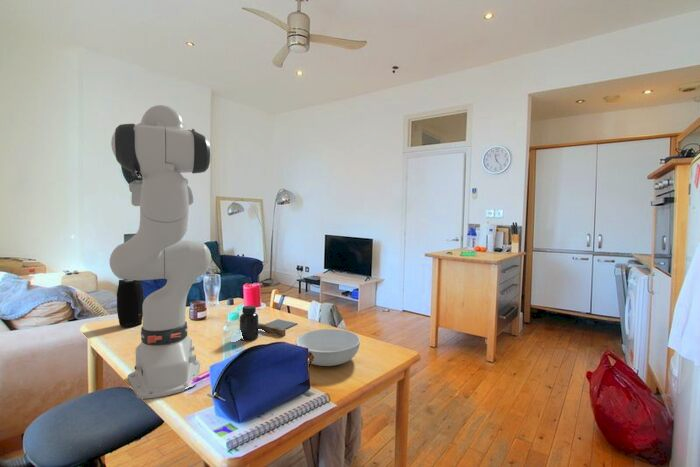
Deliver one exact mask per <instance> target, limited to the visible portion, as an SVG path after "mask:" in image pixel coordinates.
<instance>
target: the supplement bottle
mask: <svg viewBox="0 0 700 467" xmlns="http://www.w3.org/2000/svg"><path fill="white" fill-rule="evenodd" d="M256 308H257V307H256V306H255V305H244V306H242V312H241V313H242V314H240V315H239V331H240V330H241V332H242V336H243V339H244V340H243V341H245V342H248V341H249V342H250V341H254V340H257V339H258V338H259V331H258V323H259V314H257V312H256V310H257V309H256Z"/></svg>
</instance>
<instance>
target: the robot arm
mask: <svg viewBox="0 0 700 467" xmlns="http://www.w3.org/2000/svg"><path fill="white" fill-rule="evenodd" d="M110 144H111V145H110V147H111V150H112V153H113V155H114V157H115V159H116V161H117V163H118V164H119V165H120V166H121V167H122V168H123V169H126V170H127V171H129V172H130V173H131V176H133V177H136V171H137V172H138V173H139V174H141V177H142V178H141V179H142V180H137V179H135V180H134V179H133V181H131V182H130V183H129V185H128V188H129V192H131V198H130V199H131V205H132V206H134V207H139V215H140V216H139V226H138V230H137V232H136V233H135V234H134V235H133V236H132V237H131V238H130V239H128V240H127V241H126V242H123V243H121V244H118V245H117V246H116V247H115V248H114V249H113V250H112V252H111V254H110V257H109V267H110V270H111V272H112V273H113V274H114V276H115V277H117V278H118V279H119V280H123V279H127V280H141V281H147V280H148V281H150V280H161V279H165V280H166V283H165V284H164V285H163V286H162V287H161V288H158V289H157V290H155V291H153V292H151V293H150V294H148V295H147V296H146V297H145V298H144V302H143V317H142V327H141V328H140V338H141V342H140V344H138V346H137V347H135V365H134V371H133V372H131V373H129V374H128V375H127V380H128V382H129V385H130V387H131V389H132V390H133V392H134V394H135V396H136V398H137V399H139V400H140V399H142V400H143V399H154V398H155V399H156V398H159V397H160V398H161V397H165V396H169V395H174V394H177V393H181V392H184V390H185V388H186V387H188V386H189V385H188V383H189V382H190V381H191V380H193V379H194V378H196V377H198V378H199V374H200V368H201V367H200V366H201V362H200V360H197V354H196V353H195V354H194V353H193V352H195V346H194V345H193V338H191V337H189V336H188V330H189V329H188V328H189V327H188V322H187V321H186V309H187V308H186V307H187V300H188V295H189V292H190V289H191V288H192V286H193V284H194V283H195V281H196V280H197V279H198V278H199V277H200V276H202V275H203V274H205V273H206V272H207V271H208V269H209V267H210V265H211V263H212V254H211V250H210V249H209V247H208V246H207V244H205V243H204V242H199V241H195V240H194V241H193V240H182V239H183V238H184V236H185V235H186V233H187V232H188V222H189V221H188V220H189V206H191V205H192V204H193V203H194V196H193V191H192V188H191V186H189V185H188V184H189V180H188V178H187V177H184V175H183V173H184V174H185V173H187V174H188V173H191V174H201V173H205V172H206V171H207V170H209V166H210V164H211V162H212V157H213V151H212V146H211V145H210V144H211V143H210V141H209V139H207V137H206V136H205V135H204V134H202V133H199V132H197V131H196V130H195V129H194V128H191V129H185V123H184V120H183V119H182V116H181V115H180V113H179V112H177V111H176V110H175V109H174V108H172V107H171V106H168V105H163V104H159V105H153V106H151V107H150V108H148V109H147V110H146V111H145V112H144V114H143V115H142V117H141V120H140V122H139V123H137V124H135V123H123V124H119V125H118V126H117V127H116V128H115V129H114V132H113V135H112V136H111V142H110ZM185 391H186V390H185Z"/></svg>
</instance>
